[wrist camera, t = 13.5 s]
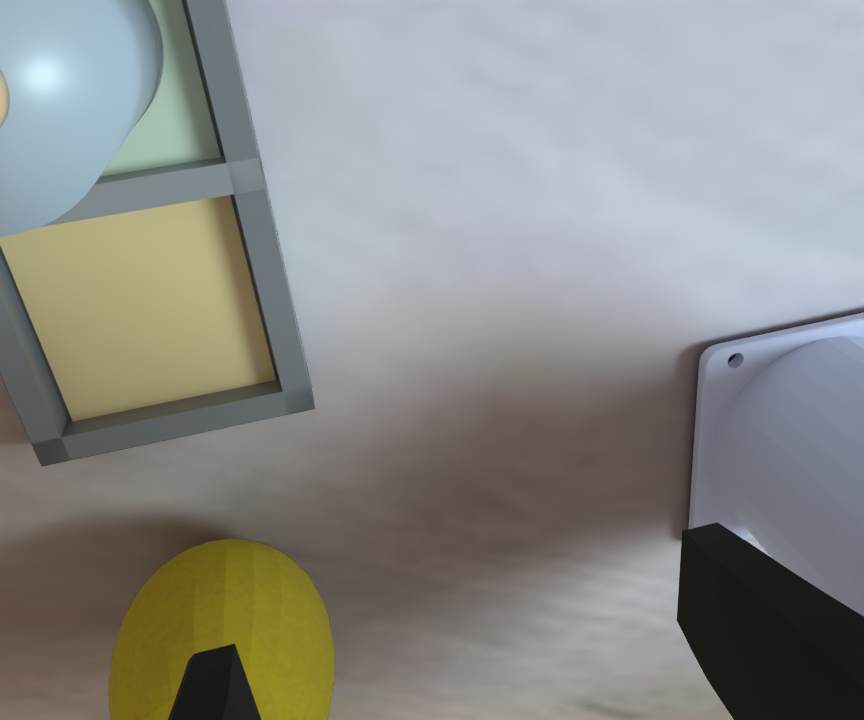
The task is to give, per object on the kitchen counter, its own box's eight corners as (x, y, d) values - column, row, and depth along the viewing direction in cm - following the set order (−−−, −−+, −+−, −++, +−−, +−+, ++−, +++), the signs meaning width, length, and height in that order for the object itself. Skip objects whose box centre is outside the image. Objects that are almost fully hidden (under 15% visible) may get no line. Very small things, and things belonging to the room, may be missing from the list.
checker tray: (190, -155, 15) (186, -164, 14) (311, 386, 21) (314, 408, 20) (-188, -114, 14) (-223, -121, 13) (52, 440, 20) (41, 466, 19)
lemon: (351, 577, 24) (391, 821, 17) (195, 650, 24) (173, 923, 17) (268, 452, 22) (277, 683, 15) (93, 535, 22) (19, 805, 15)
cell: (135, -79, 15) (56, -108, 9) (183, 131, 17) (146, 229, 11) (-87, -62, 14) (-342, -82, 8) (-11, 153, 16) (-169, 270, 10)
